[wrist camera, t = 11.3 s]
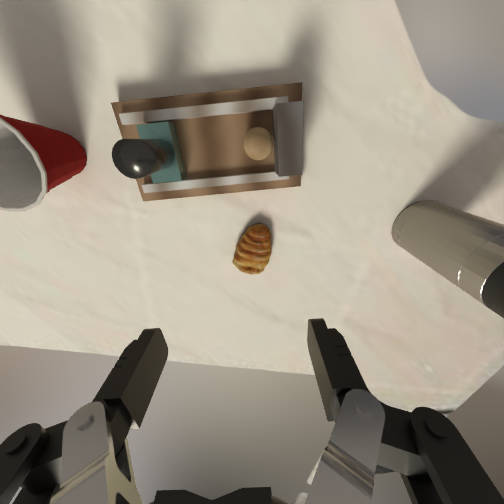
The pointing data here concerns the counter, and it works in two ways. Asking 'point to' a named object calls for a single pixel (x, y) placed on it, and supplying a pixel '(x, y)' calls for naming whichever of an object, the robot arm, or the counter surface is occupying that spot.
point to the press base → (223, 139)
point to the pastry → (253, 250)
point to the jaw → (151, 154)
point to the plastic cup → (34, 162)
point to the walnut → (258, 143)
